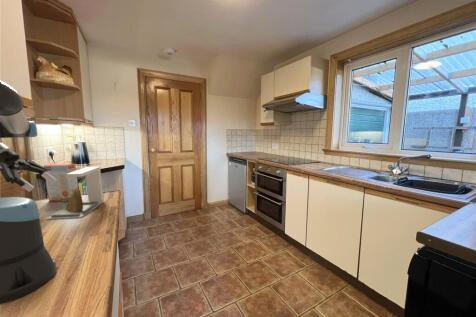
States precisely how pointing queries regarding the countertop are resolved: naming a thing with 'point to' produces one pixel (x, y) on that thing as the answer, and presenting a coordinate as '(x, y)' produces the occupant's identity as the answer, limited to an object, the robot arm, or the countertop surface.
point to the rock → (75, 202)
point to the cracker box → (61, 182)
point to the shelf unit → (93, 193)
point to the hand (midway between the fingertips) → (44, 185)
